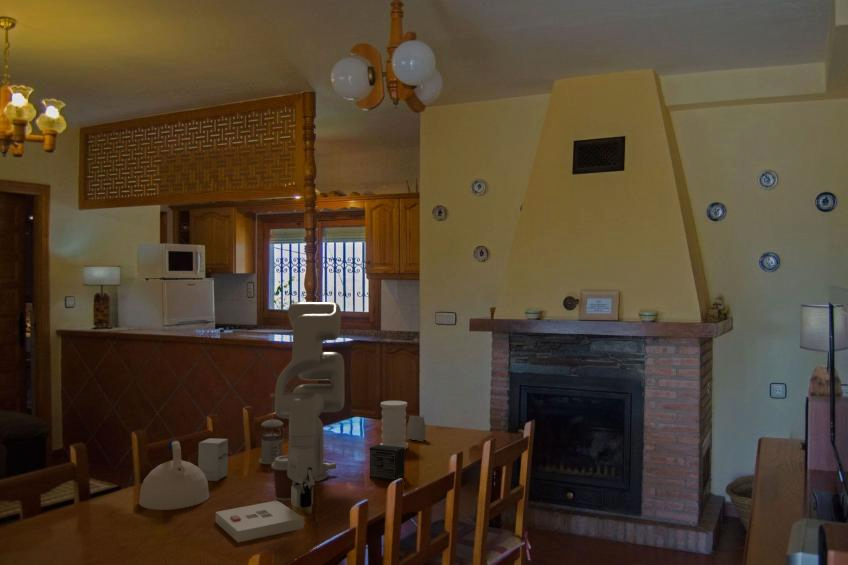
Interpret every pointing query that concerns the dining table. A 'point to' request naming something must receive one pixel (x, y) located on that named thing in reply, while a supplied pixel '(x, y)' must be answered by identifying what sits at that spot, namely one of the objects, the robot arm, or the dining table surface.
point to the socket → (258, 520)
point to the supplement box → (213, 458)
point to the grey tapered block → (416, 428)
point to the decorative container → (394, 423)
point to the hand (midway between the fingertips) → (302, 503)
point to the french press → (271, 440)
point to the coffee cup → (282, 479)
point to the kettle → (174, 484)
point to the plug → (296, 499)
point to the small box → (386, 462)
